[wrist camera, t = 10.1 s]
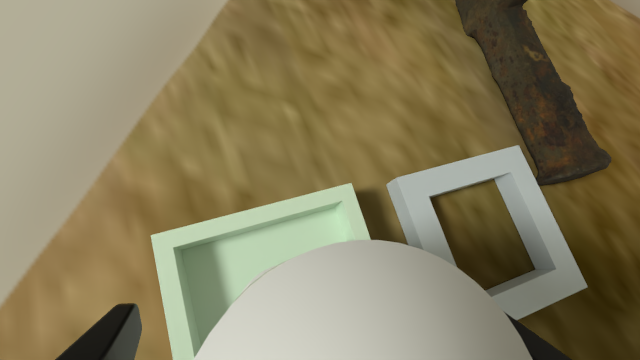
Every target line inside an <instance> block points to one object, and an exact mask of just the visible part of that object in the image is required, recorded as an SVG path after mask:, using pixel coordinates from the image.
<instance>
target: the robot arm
mask: <svg viewBox="0 0 640 360" xmlns="http://www.w3.org/2000/svg"><path fill="white" fill-rule="evenodd" d="M503 312H504V311H503ZM504 313H505V312H504ZM505 314H506V315H507V317H508V318H509V320H510V321H511V323H512V324H513V326H514V327H515V329H516V330H517V332H518V333H519V335H520V336H521V338H522V340H523V342H524V344H525V346H526V348H527V350H528V352H529V354H530V356H531V357H532V359H533V360H572V359H570V358H569V357H567V356H566V355H565V354H563V353H562V352H560V351H559V350H557V349H556V348H555V347H553V346H552V345H550V344H549V343H548V342H546V341H545V340H543V339H542V338H541V337H539V336H538V335H536V334H535V333H533V332H532V331H531V330H529V329H528V328H526V327H525V326H524V325H522V324H521V323H519V322H518V321H517V320H515V319H514V318H512V317H511V316H509V315H508V314H507V313H505ZM141 331H142V324H141V319H140V314H139V309H138V306H137V304H134V303H127V304H118V305H116V306H115V307H113V308H112V309H111V310H110V311H109V312H108V313H107V314H106V315H105V316H103V317H102V318H101V319H100V320H99V321H98V322H97V323H96V324H94V325H93V326H92V327H91V328H90V329H89V330H88V331H87V332H85V333H84V334H83V335H82V336H81V337H80V338H79V339H78V340H77V341H75V342H74V343H73V344H72V345H71V346H70V347H69V348H68V349H66V350H65V351H64V352H63V353H62V354H61V355H60V356H59V357H58V358H56V359H55V360H134V358H135V354H136V351H137V347H138V344H139V340H140V336H141Z"/></svg>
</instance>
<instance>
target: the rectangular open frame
mask: <svg viewBox="0 0 640 360" xmlns="http://www.w3.org/2000/svg"><path fill="white" fill-rule="evenodd" d="M492 179H494V180H495V182H496V184H497V186H498V188H499V191H500V193H501V195H502V197H503V199H504V202H505V204H506V206H507V208H508V210H509V213H510V215H511V217H512V219H513V221H514V223H515V226H516V228H517V230H518V232H519V234H520V237H521V239H522V241H523V243H524V245H525V248H526V250H527V252H528V254H529V256H530V259H531V261H532V263H533V265H534V267H535V270H533V271H531V272H528V273H526V274H523V275H521V276H519V277H516V278H514V279H512V280H509V281H507V282H504V283H502V284H500V285H497V286H495V287H492V288H490V289H488V290H485V291H486V292H487V293H488V294H489V295H490V296H491V297H492V298H493V300H494V301H495V302H496V303H497V304H498V306H499V307H500V308H501V309H502V311H504V312H505V313H507V314H508V315H509V316H511V317H512V318H514V319H515V320H518V319H521V318H523V317H525V316H527V315H529V314H531V313H533V312H536V311H538V310H540V309H542V308H544V307H546V306H548V305H550V304H553V303H555V302H557V301H559V300H561V299H563V298H565V297H568V296H570V295H572V294H574V293H576V292H578V291H580V290H582V289H585V288H587V287H588V286H587V284H586V282H585V280H584V278H583V276H582V274H581V272H580V270H579V268H578V266H577V264H576V262H575V260H574V257H573V255H572V253H571V251H570V249H569V247H568V245H567V243H566V241H565V239H564V237H563V235H562V233H561V231H560V229H559V227H558V225H557V223H556V221H555V219H554V216H553V214H552V212H551V210H550V208H549V206H548V204H547V202H546V200H545V198H544V196H543V194H542V192H541V190H540V188H539V186H538V184H537V182H536V180H535V178H534V176H533V173H532V171H531V169H530V167H529V165H528V163H527V161H526V159H525V157H524V155H523V153H522V151H521V149H520V147H519V145H517V146H513V147H509V148H506V149H502V150H498V151H495V152H491V153H487V154H483V155H480V156H476V157H472V158H468V159H465V160H461V161H457V162H454V163H450V164H446V165H442V166H439V167H435V168H431V169H428V170H424V171H420V172H416V173H413V174H409V175H405V176H401V177H398V178H395V179H394V180H392V181H391V182H389V183H388V184H387V185H386V186H387V188H388V191H389V194H390V197H391V199H392V202H393V205H394V207H395V210H396V213H397V215H398V218H399V221H400V224H401V226H402V229H403V232H404V234H405V237H406V240H407V242H408V245H409V246H412V247H416V248H419V249H422V250H424V251H426V252H429V253H431V254H433V255H436V256H438V257H440V258H442V259H443V260H445V261H447V262H448V263H450V264H452V265H454V266H455V267H457V266H456V263H455V261H454V258H453V256H452V253H451V251H450V248H449V246H448V243H447V241H446V238H445V236H444V233H443V231H442V228H441V226H440V223H439V221H438V218H437V216H436V213H435V211H434V208H433V206H432V203H431V201H430V198H431V197H435V196H438V195H441V194H445V193H448V192H451V191H455V190H458V189H461V188H465V187H468V186H471V185H475V184H478V183H482V182H485V181H488V180H492Z"/></svg>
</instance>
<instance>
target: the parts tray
mask: <svg viewBox="0 0 640 360" xmlns="http://www.w3.org/2000/svg"><path fill="white" fill-rule="evenodd" d="M151 239H152V244H153V250H154V256H155V261H156V267H157V272H158V278H159V283H160V289H161V294H162V300H163V306H164V311H165V317H166V322H167V328H168V333H169V339H170V344H171V350H172V355H173V360H194V358H195V356H196V355H197V353H198V351H199V350H200V348H201V347H202V345H203V343H204V342H205V340H206V338H207V337H208V335H209V333H210V332H211V331H212V329H213V328H214V327H215V326H216V324H217V323H218V322H219V320H220V319H221V318H222V317H223V315H224V314H225V313H226V311H227V310H228V309H229V308H230V306H231V305H232V304H233V302H234V301H235V300H236V299H237V298H238V297H239V295H240V294H241V293H242V291H243V290H244V288H245V287H246V286H247V284H248V283H249V282H250V281H251V280H252V279H253V278H254V277H255V276H257V275H258V274H259V273H261V272H262V271H264V270H266V269H268V268H270V267H273V266H276V265H279V264H280V263H282V262H285V261H287V260H289V259H292V258H294V257H296V256H298V255H301V254H303V253H305V252H308V251H310V250H313V249H316V248H319V247H323V246H326V245H330V244H333V243H339V242H346V241H353V240H371V239H370V236H369V233H368V230H367V227H366V224H365V221H364V218H363V215H362V212H361V210H360V207H359V204H358V201H357V198H356V195H355V192H354V189H353V186H352V183H349V184H345V185H341V186H338V187H334V188H330V189H326V190H322V191H318V192H315V193H311V194H307V195H303V196H299V197H296V198H292V199H288V200H284V201H280V202H276V203H273V204H269V205H265V206H261V207H257V208H254V209H250V210H246V211H242V212H238V213H234V214H231V215H227V216H223V217H219V218H215V219H212V220H208V221H204V222H200V223H196V224H192V225H189V226H185V227H181V228H177V229H173V230H170V231H166V232H162V233H158V234H154V235H151Z"/></svg>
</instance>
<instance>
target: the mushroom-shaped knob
mask: <svg viewBox="0 0 640 360" xmlns="http://www.w3.org/2000/svg"><path fill="white" fill-rule="evenodd" d="M194 360H533V359H532V357H531V356H530V354H529V352H528V350H527V348H526V346H525V344H524V342H523V340H522V338H521V336H520V335H519V333H518V332H517V330H516V329H515V327H514V326H513V324H512V323H511V321H510V320H509V318H508V317H507V315H506V314H505V313H504V312H503V311H502V309H501V308H500V307H499V306H498V304H497V303H496V302H495V301H494V300H493V298H492V297H491V296H490V295H489V294H488V293H487V292H486V291H485V290H484V289H483V288H482V287H481V286H479V285H478V284H477V283H476V282H475V281H474V280H473V279H471V278H470V277H469V276H468V275H466V274H465V273H464V272H462V271H461V270H460V269H458V268H457V267H455V266H454V265H452V264H450V263H448V262H447V261H445V260H443V259H442V258H440V257H438V256H436V255H433V254H431V253H429V252H426V251H424V250H422V249H419V248H416V247H412V246H409V245H405V244H402V243H397V242H389V241H382V240H353V241H346V242H339V243H333V244H330V245H326V246H323V247H319V248H316V249H313V250H310V251H308V252H305V253H303V254H301V255H298V256H296V257H294V258H292V259H289V260H287V261H285V262H282V263H280V264H279V265H276V266H273V267H270V268H268V269H266V270H264V271H262V272H261V273H259V274H258V275H257V276H255V277H254V278H253V279H252V280H251V281H250V282H249V283H248V284H247V286H246V287H245V288H244V290H243V291H242V293H241V294H240V295H239V297H238V298H237V299H236V300H235V301H234V302H233V304H232V305H231V306H230V308H229V309H228V310H227V311H226V313H225V314H224V315H223V317H222V318H221V319H220V320H219V322H218V323H217V324H216V326H215V327H214V328H213V329H212V331H211V332H210V333H209V335H208V337H207V338H206V340H205V342H204V343H203V345H202V347H201V348H200V350H199V351H198V353H197V355H196V356H195V358H194Z"/></svg>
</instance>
